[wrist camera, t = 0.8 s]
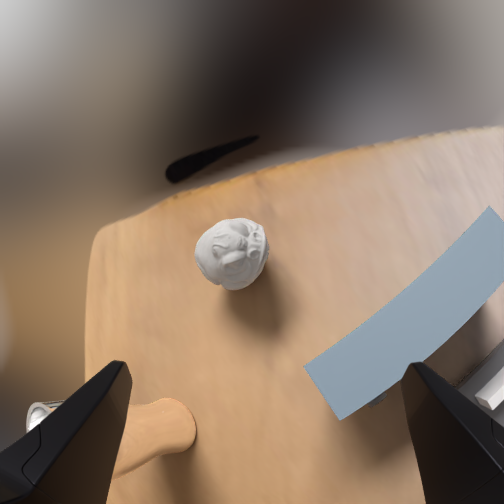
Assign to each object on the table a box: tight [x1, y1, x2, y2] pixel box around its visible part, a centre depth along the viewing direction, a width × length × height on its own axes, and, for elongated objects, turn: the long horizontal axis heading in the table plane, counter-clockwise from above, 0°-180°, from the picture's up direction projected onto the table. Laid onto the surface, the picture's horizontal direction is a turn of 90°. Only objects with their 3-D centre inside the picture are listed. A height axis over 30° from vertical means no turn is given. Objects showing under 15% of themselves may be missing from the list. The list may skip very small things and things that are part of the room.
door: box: [303, 206, 504, 420], centre depth 17 cm, size 4×14×10 cm, turn 123°
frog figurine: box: [195, 218, 269, 290], centre depth 25 cm, size 6×7×7 cm
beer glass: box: [27, 398, 196, 481], centre depth 20 cm, size 7×7×15 cm
